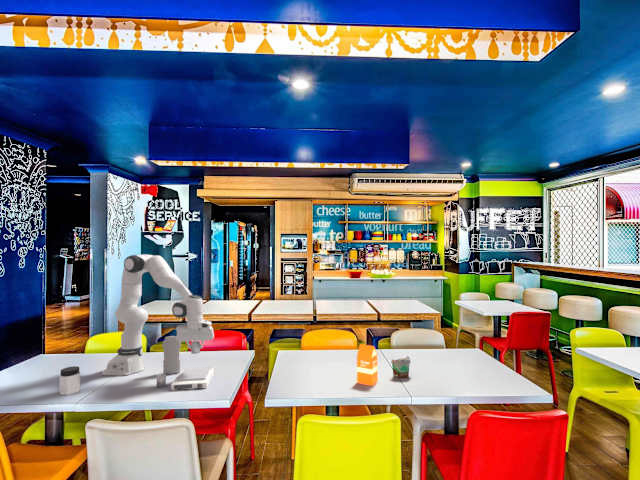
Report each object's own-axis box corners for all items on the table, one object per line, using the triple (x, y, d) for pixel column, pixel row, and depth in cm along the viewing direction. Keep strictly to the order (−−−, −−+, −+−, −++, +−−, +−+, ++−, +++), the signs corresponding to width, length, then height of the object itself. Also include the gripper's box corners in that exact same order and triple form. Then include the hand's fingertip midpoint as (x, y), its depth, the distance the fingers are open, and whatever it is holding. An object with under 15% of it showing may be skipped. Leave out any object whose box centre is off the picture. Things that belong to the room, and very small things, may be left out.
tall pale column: (161, 374, 211) (161, 337, 211) (164, 372, 215) (163, 335, 215) (179, 374, 212) (179, 336, 212) (182, 371, 216) (181, 334, 216)
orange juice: (371, 385, 191) (371, 348, 191) (356, 382, 196) (356, 345, 196) (377, 381, 198) (377, 344, 198) (363, 378, 202) (362, 342, 203)
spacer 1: (155, 388, 191) (155, 376, 191) (158, 384, 195) (158, 373, 196) (164, 387, 191) (164, 376, 192) (167, 384, 196) (166, 373, 196)
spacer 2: (190, 354, 202) (190, 343, 202) (192, 351, 207) (192, 341, 207) (198, 353, 203) (198, 343, 203) (200, 351, 207) (200, 340, 207)
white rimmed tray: (170, 390, 187) (170, 383, 187) (181, 375, 209) (181, 368, 209) (206, 388, 189) (206, 381, 189) (213, 373, 212) (213, 366, 212)
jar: (77, 387, 193) (77, 365, 193) (82, 391, 188) (82, 368, 188) (57, 392, 186) (57, 369, 186) (62, 396, 181) (62, 372, 181)
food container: (398, 380, 198) (398, 362, 198) (391, 377, 203) (391, 359, 203) (415, 376, 203) (415, 359, 204) (408, 373, 209) (407, 356, 209)
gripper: (174, 326, 200) (174, 350, 200) (212, 324, 203) (212, 349, 203) (177, 323, 207) (178, 347, 207) (214, 322, 209) (214, 345, 209)
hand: (195, 348), depth 205 cm, fingers closed on spacer 2, 5 cm apart
